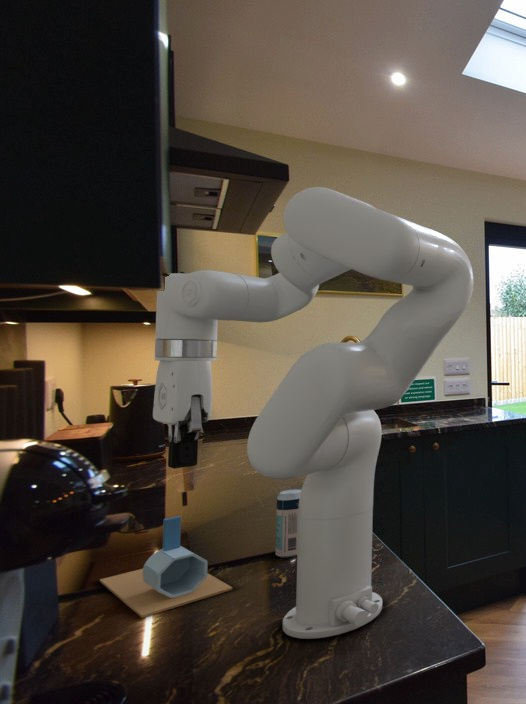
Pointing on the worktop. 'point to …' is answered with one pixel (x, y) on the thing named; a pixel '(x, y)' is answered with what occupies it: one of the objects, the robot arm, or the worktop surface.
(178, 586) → the pale-blue faceted part
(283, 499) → the white labelled bottle
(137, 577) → the cork mat
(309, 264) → the robot arm
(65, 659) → the worktop surface
